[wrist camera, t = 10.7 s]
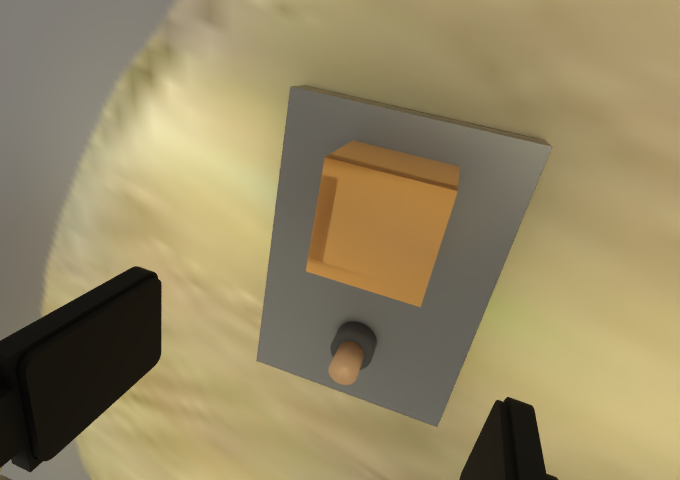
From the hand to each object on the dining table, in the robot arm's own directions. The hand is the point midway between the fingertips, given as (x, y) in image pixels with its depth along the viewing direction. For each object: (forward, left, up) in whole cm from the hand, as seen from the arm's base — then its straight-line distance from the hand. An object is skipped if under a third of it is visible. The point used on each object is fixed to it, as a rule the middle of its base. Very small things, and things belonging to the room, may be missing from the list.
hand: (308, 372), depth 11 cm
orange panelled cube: (0, 0, -14) cm, 14 cm away
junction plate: (0, +5, -16) cm, 17 cm away
